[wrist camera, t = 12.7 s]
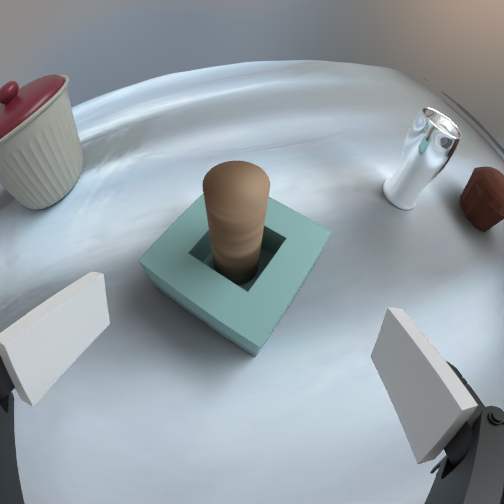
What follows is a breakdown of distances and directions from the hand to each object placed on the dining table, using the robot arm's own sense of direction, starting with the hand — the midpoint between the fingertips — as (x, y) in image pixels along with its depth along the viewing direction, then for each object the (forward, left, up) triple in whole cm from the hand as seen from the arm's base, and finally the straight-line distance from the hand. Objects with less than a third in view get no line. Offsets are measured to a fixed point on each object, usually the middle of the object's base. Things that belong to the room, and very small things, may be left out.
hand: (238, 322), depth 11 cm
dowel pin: (+6, -8, -14) cm, 17 cm away
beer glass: (-8, -33, -16) cm, 37 cm away
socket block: (+5, -8, -16) cm, 18 cm away
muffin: (-25, -43, -16) cm, 52 cm away
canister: (+40, -3, -16) cm, 44 cm away
